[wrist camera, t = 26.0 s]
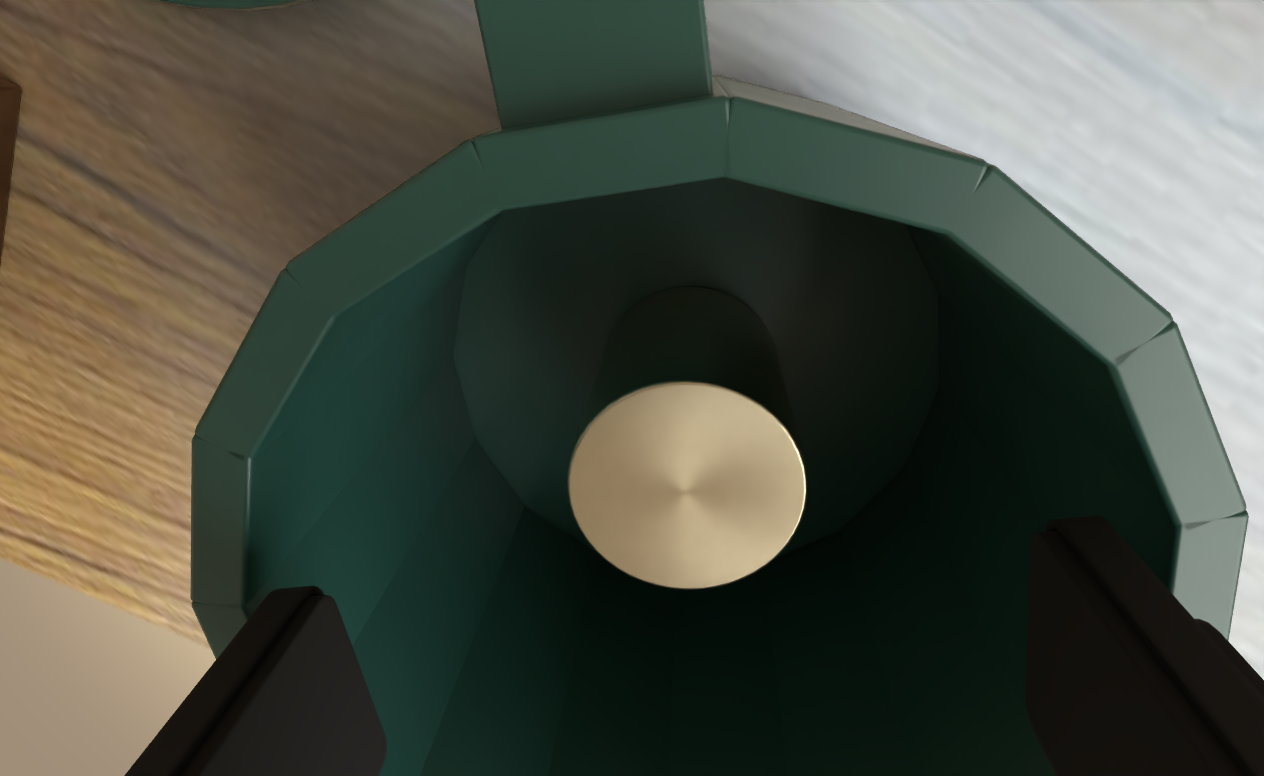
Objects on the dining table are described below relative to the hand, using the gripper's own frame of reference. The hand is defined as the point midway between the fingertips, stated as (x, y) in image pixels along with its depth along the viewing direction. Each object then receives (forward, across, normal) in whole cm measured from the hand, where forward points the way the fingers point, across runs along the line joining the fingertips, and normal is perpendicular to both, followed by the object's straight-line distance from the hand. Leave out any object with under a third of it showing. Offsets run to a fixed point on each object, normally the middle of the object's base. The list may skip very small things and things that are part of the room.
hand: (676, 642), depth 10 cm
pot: (+10, 0, 0) cm, 11 cm away
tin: (+10, 0, 0) cm, 10 cm away
